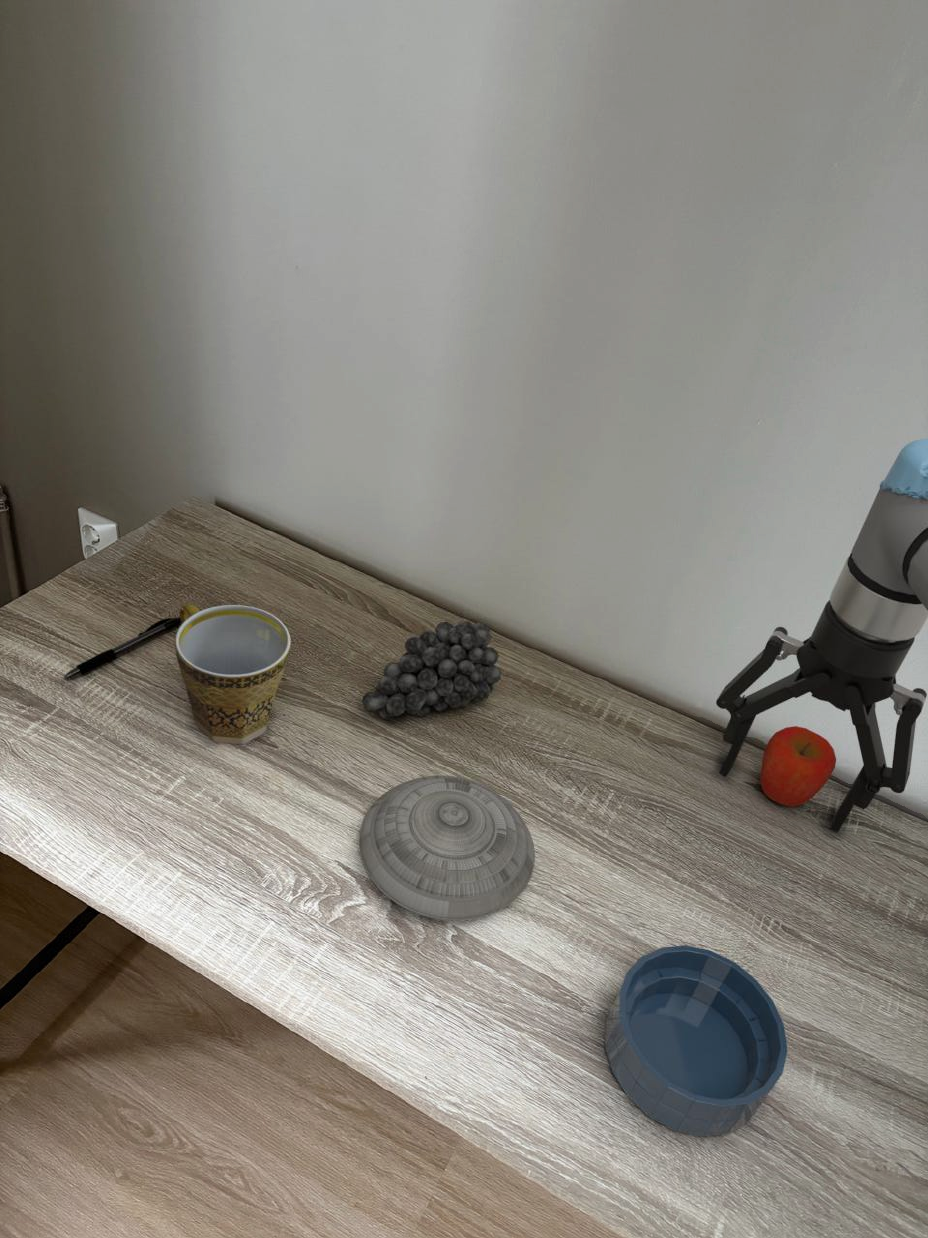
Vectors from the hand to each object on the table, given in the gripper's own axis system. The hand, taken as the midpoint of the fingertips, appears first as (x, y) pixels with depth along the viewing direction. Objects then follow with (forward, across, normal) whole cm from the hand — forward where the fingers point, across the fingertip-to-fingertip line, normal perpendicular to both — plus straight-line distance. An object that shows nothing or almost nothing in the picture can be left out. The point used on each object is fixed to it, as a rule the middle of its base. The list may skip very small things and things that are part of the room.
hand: (781, 793), depth 95 cm
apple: (0, 0, 0) cm, 0 cm away
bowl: (0, -2, +31) cm, 31 cm away
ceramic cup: (0, +48, +26) cm, 54 cm away
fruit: (0, +34, +12) cm, 36 cm away
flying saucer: (0, +22, +27) cm, 35 cm away
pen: (0, +61, +25) cm, 66 cm away
